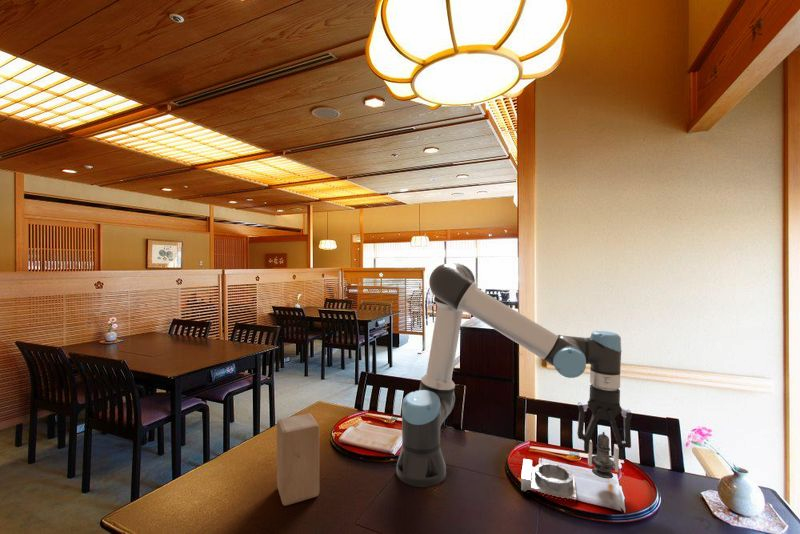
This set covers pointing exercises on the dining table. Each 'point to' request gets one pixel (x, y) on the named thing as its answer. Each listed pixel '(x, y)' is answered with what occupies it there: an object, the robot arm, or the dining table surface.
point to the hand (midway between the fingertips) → (602, 466)
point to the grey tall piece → (603, 458)
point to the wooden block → (297, 458)
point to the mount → (548, 479)
